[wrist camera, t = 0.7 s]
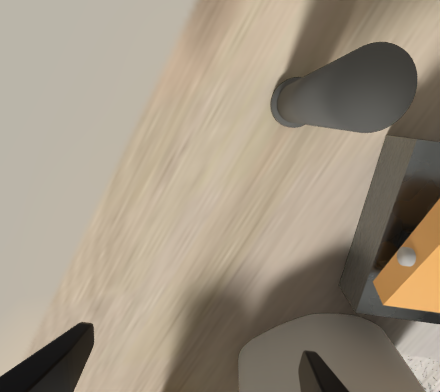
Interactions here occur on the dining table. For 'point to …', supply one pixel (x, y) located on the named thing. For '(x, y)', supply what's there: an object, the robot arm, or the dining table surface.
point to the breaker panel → (391, 221)
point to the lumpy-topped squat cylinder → (325, 356)
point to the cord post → (350, 91)
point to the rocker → (414, 269)
